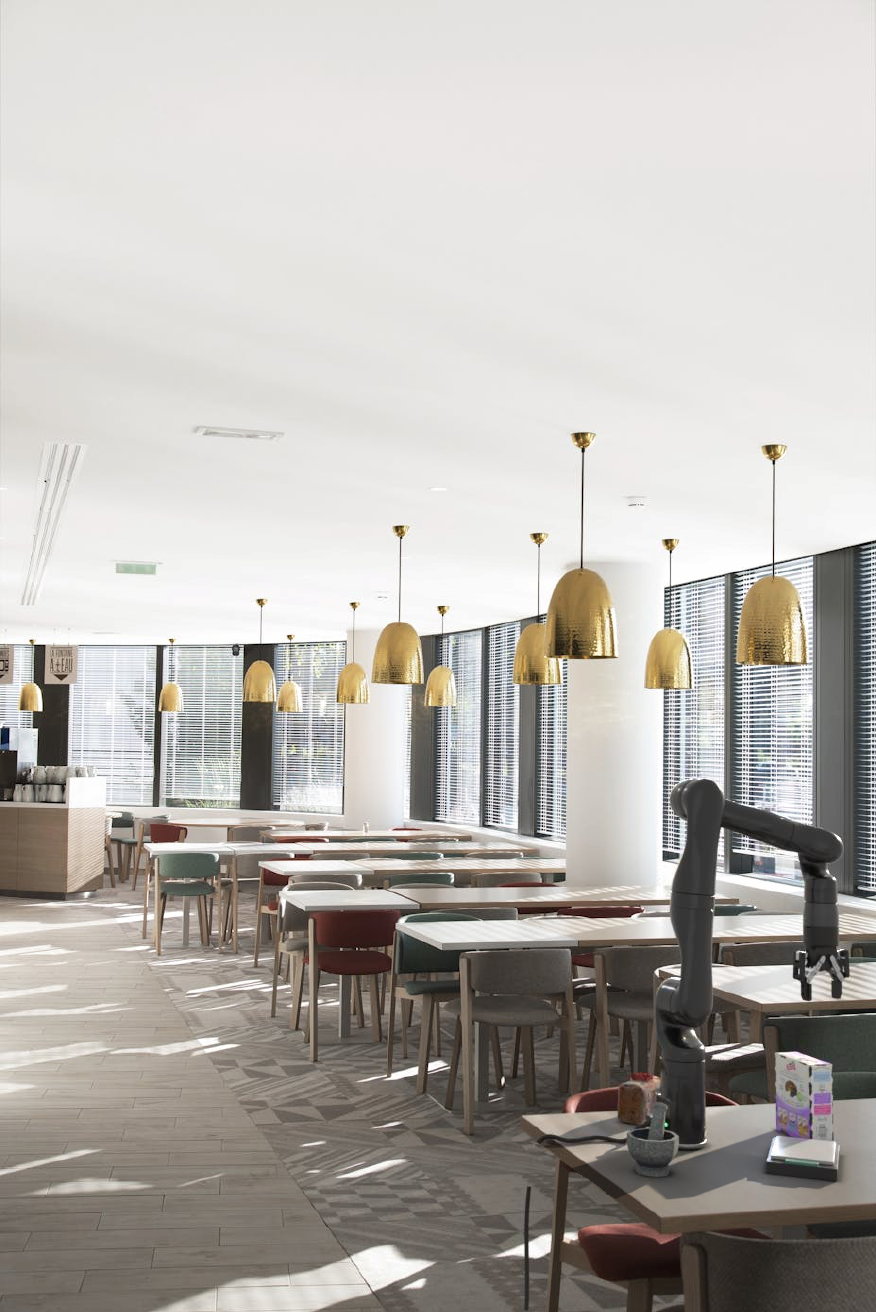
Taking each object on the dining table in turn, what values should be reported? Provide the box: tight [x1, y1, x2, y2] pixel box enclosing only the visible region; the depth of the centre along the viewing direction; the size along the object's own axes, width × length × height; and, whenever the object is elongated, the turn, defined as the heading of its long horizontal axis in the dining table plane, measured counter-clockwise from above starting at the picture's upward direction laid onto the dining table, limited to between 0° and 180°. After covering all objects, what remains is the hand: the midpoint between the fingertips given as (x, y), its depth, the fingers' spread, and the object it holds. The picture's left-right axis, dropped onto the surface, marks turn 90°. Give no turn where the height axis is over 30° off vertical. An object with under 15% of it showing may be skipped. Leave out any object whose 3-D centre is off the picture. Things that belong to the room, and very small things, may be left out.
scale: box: [765, 1135, 841, 1182], centre depth 247 cm, size 18×13×3 cm
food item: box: [617, 1072, 660, 1126], centre depth 281 cm, size 14×8×10 cm, turn 149°
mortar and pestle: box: [626, 1102, 679, 1178], centre depth 242 cm, size 11×9×12 cm
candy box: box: [774, 1051, 835, 1142], centre depth 268 cm, size 14×6×16 cm, turn 17°
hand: (821, 999), depth 272 cm, fingers open, 8 cm apart
